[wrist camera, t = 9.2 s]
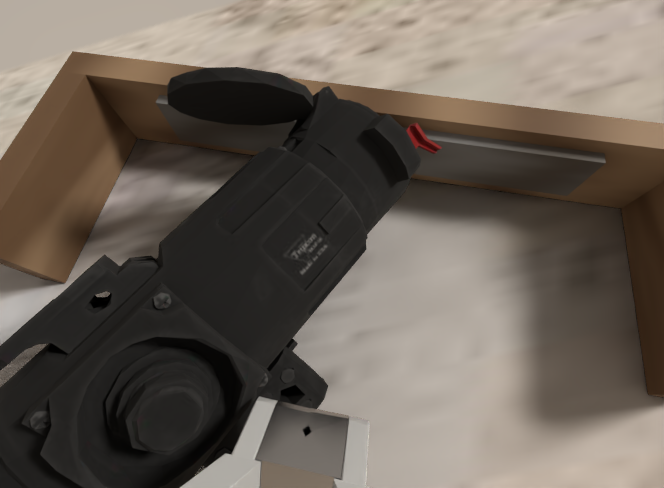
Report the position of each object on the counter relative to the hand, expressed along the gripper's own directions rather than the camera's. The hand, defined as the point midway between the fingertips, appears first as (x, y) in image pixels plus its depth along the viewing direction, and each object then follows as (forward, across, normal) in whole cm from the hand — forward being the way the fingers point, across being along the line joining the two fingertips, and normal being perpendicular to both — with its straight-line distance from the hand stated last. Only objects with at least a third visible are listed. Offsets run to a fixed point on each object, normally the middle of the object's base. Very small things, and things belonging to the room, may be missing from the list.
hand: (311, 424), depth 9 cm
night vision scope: (+5, +4, +2) cm, 6 cm away
